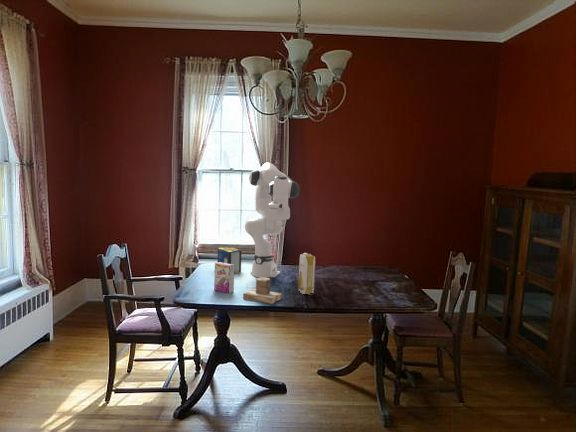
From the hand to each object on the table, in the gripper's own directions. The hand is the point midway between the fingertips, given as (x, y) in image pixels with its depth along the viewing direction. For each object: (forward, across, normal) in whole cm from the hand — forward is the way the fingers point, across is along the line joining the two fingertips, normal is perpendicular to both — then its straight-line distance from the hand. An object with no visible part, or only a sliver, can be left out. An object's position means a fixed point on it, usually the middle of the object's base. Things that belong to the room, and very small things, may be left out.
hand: (279, 228), depth 246 cm
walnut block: (+35, +14, -2) cm, 38 cm away
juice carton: (+39, -10, +14) cm, 42 cm away
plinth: (+38, +14, -2) cm, 41 cm away
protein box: (+39, -30, -54) cm, 73 cm away
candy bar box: (+39, +14, -28) cm, 50 cm away
